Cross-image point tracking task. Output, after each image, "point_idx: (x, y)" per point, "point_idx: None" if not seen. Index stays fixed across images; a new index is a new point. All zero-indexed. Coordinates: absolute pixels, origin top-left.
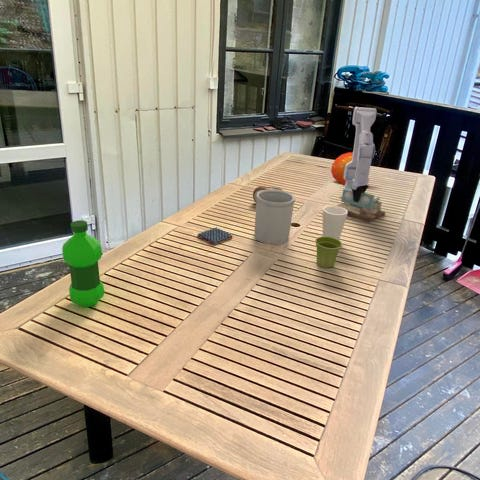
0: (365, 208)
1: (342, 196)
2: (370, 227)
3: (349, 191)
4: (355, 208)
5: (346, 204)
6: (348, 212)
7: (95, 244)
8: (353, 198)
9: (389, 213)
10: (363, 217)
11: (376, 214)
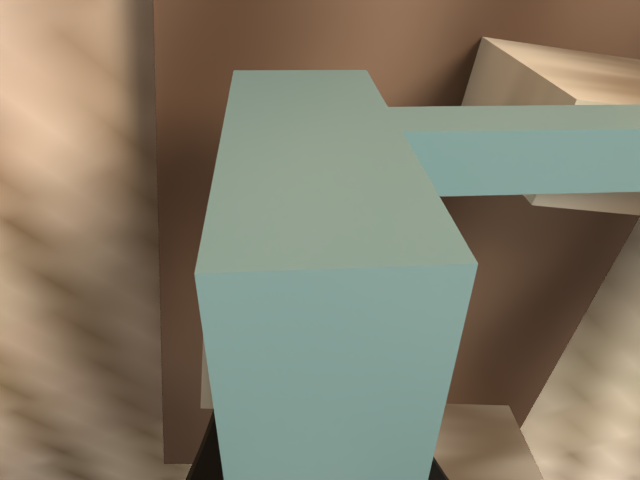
0: (484, 321)
1: (227, 132)
2: (72, 472)
3: (223, 468)
4: (204, 351)
5: (478, 56)
6: (159, 231)
7: None
8: (205, 435)
9: (559, 443)
10: (163, 412)
11: None
